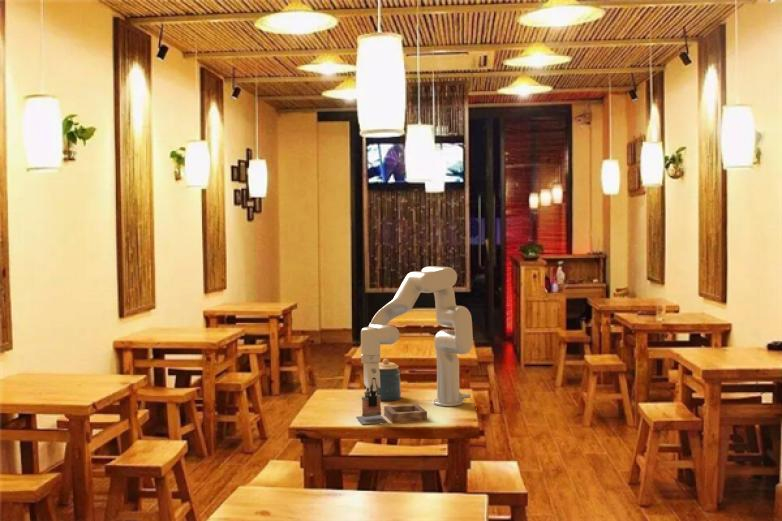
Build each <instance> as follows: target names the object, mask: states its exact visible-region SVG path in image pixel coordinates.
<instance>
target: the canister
mask: <svg viewBox="0 0 782 521" xmlns="http://www.w3.org/2000/svg"><path fill="white" fill-rule="evenodd" d="M399 367H400V366H399V365H398V364H396V363H395V362H391V361H389V359H388V358H383V360H382V362H380V363H379V370H380V388H377V387H376V389H377V390H379V393H377V395H381V398H380V400H381V402H391V401H398V400H400V399H401V393H402V392H401V391H402V390H401V380H402V379H401V377H400V374H401V370H399Z"/></svg>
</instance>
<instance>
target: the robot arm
mask: <svg viewBox="0 0 782 521" xmlns="http://www.w3.org/2000/svg"><path fill="white" fill-rule="evenodd" d="M457 279H458V274H457V272H456V270H455V269H454V268H452V267H450V266H449V267H448V266H435V265H430V266H428V265H427V266H425V267H423V268H422V269H421V270H420V271H410V272H409V273H407V274H406V276H405V277H404V279H403V280H402V282H401V284H400V286H399V288H398V290H397V292H396V293H395V295H394V297H393V299H391V301H389V302H387V303H386V304H385V305H384V306H383V307H381V308H380V309H379V310H378V311H377V312H376V313H375V315H374V316H373V318H372V319H371V322H369V325H368V326H365V327H363V328H361V330H360V355H361V357H360V362H361V364H363V384H364V386H365V391H368V390H369V407H371V406H377V389H376V387H377V388H380V370H379V363H381V346H382V345H390V346H391V345H394V344H396V343H397V342H398V341H399V340H400V330H398V328H397V327H395V326H393V325H388V324H389V323H390V322H391V321H392V320H394V319H396V318H397V317H400V316H402V315H405V314H407V313H409V312H411V311H412V309H413V307H414V305H415V303H416V302H417V300H418V298H419V296H420V294H421V293H422V294H423V293H425V294H430V293H431V294H432V293H433V296H434V301H435V304H434V305H435V318H436V319H435V320H436V322H437V324H438V325H439V326H440V327H444V328H450V329H441V330H439V331H437V332H436V334H435V335H434V339H433V340H434V341H433V343H434V349H435V355H436V398H434V400H433V404H434V405H435V406H439V407H457V406H462V405H463V404H464V399H470V398H471V394H470V393H462V392H461V391H460V359H459V357H458V355H467V354H469V353H470V352H471V350H472V349H473V346H474V345H473V344H474V338H473V337H474V336H473V321H472V314H471V312H470V311H469V309H468V308H467V307H466V306H463V305H457V303H456V297H455V296H456V295H455V290H454V288H453V286H455V284H456V283H457ZM451 328H452V329H451ZM453 329H454V330H453ZM371 390H372V391H371Z"/></svg>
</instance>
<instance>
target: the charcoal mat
mask: <svg viewBox="0 0 782 521" xmlns="http://www.w3.org/2000/svg"><path fill="white" fill-rule="evenodd" d="M356 418H357V419H358V420H357V421H358V422H359V423H360V424H361V425H362V426H365V425H364V424H373V425H381V424H380V423H387V424H388V421H387V420H386V419H385V418H384V417H383V415H382V414H381V415H377V416H370V417H362V415H361V416H360V415H359V416H356V417H355V419H356Z"/></svg>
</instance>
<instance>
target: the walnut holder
mask: <svg viewBox="0 0 782 521" xmlns="http://www.w3.org/2000/svg"><path fill="white" fill-rule="evenodd" d="M383 408H384V409H383V415H384V416H385V417H386V418H387V420H389V421H390V423H392V424H397V423H398V424H399V422H400V423H412V422H411V421H414V422H422V421H421V420H427V421H428V411H427V410H425V408H423V407H422V406H421V405H419V403H414V404H413V403H412V404H411V403H410V404H399V405H387V406H383Z"/></svg>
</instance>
